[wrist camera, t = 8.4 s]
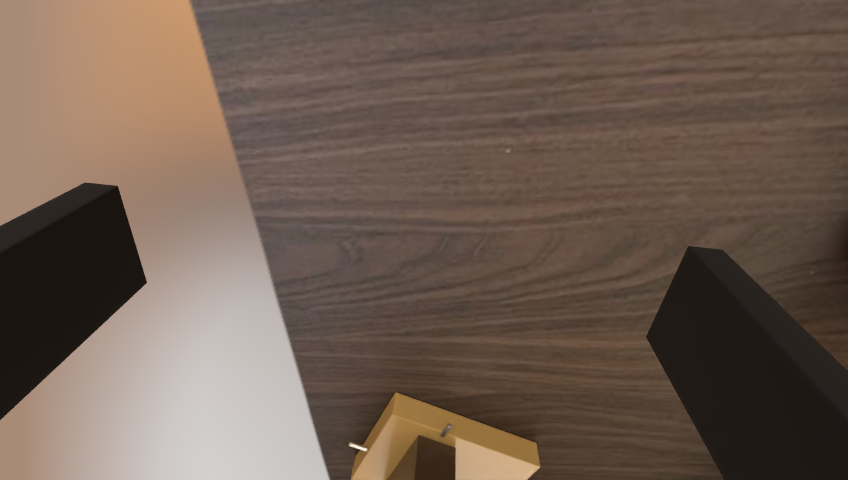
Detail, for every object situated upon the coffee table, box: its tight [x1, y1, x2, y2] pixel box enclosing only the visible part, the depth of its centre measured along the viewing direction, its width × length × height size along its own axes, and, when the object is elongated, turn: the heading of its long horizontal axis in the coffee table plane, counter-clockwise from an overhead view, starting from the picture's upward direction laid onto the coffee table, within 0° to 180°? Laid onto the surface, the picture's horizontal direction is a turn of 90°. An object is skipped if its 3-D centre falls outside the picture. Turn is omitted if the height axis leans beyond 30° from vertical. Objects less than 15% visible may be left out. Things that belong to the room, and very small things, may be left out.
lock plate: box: [349, 392, 540, 480], centre depth 34 cm, size 14×11×2 cm
